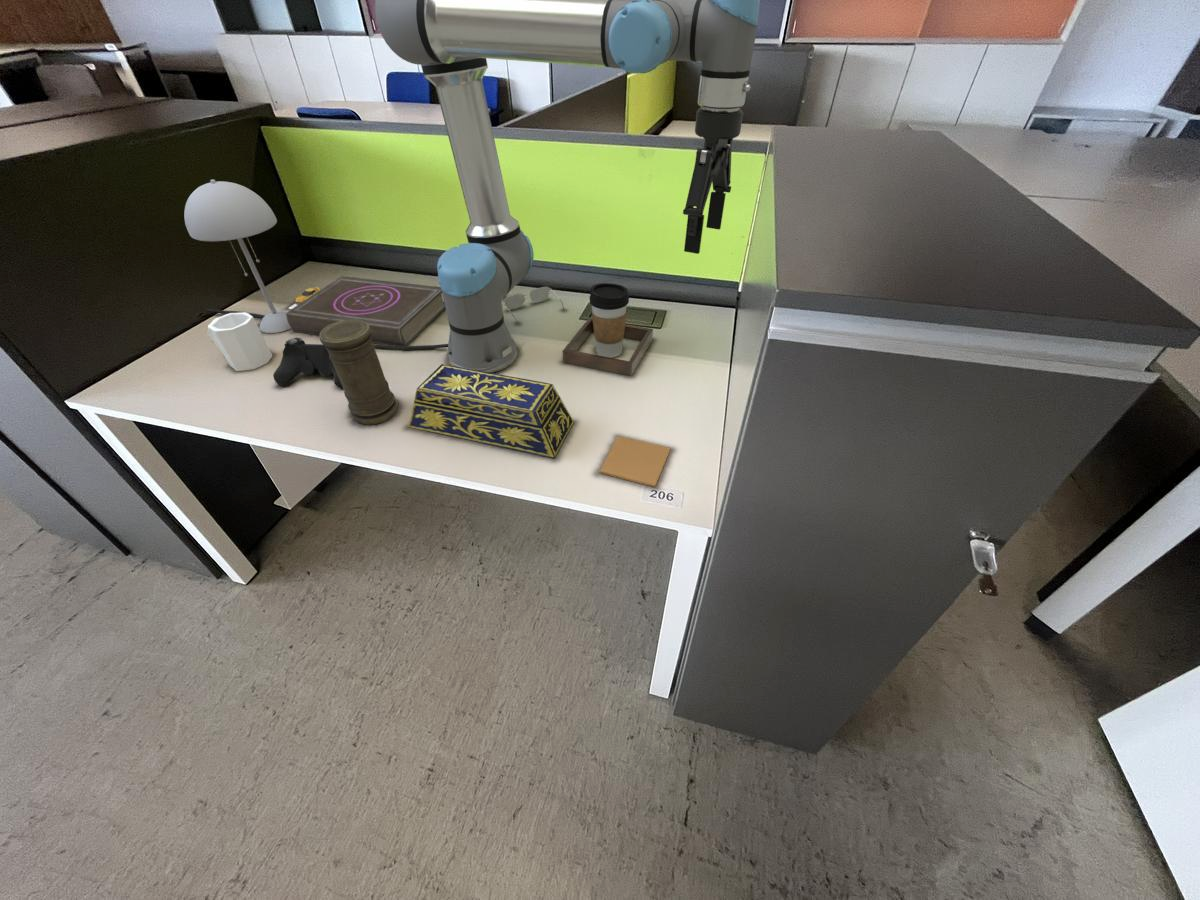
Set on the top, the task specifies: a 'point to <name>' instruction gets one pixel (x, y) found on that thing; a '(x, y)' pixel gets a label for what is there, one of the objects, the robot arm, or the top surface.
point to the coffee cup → (609, 317)
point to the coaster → (635, 461)
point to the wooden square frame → (606, 362)
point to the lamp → (233, 228)
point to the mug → (239, 341)
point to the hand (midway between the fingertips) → (703, 239)
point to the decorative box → (492, 410)
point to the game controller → (304, 362)
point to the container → (359, 371)
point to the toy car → (305, 296)
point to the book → (370, 308)
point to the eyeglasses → (519, 299)
